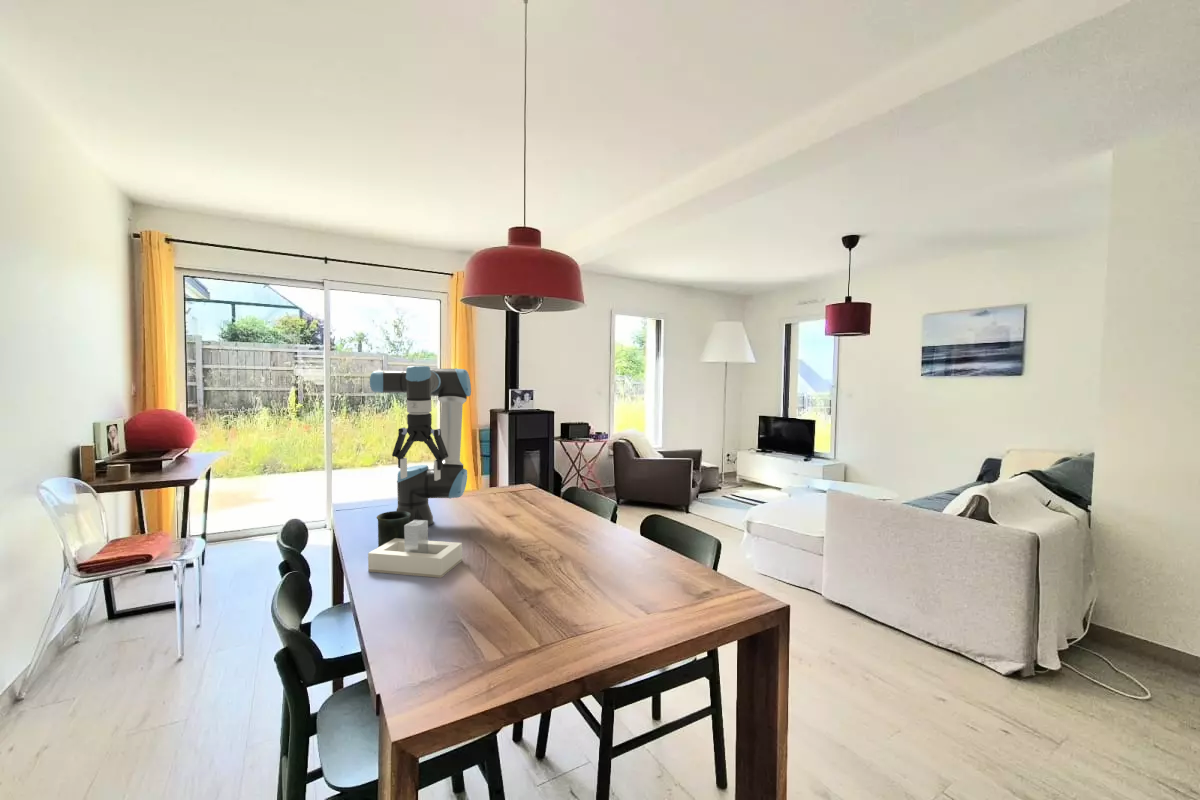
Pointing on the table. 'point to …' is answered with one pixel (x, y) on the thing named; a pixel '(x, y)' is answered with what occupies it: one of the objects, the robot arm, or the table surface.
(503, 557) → the table surface
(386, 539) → the mug
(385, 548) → the well block
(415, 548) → the grey l-shaped block
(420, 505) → the robot arm
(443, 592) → the table surface
